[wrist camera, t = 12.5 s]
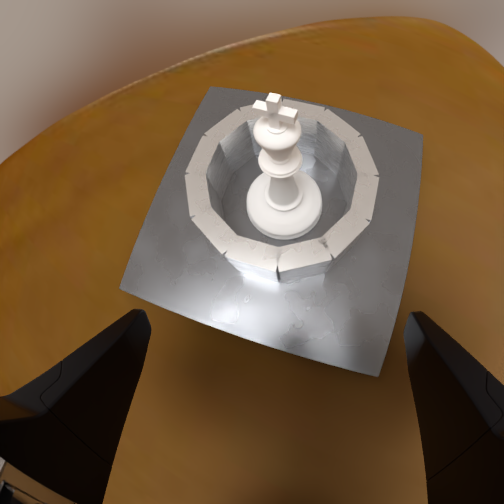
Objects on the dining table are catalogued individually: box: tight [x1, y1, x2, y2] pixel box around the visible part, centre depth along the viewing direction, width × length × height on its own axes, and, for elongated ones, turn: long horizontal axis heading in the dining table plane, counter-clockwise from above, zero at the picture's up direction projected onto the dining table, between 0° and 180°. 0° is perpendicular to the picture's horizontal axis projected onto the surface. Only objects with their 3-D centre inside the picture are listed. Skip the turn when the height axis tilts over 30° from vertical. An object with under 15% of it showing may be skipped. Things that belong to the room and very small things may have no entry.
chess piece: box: [246, 93, 322, 240], centre depth 15 cm, size 5×5×10 cm
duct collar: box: [119, 87, 423, 377], centre depth 18 cm, size 18×18×5 cm
